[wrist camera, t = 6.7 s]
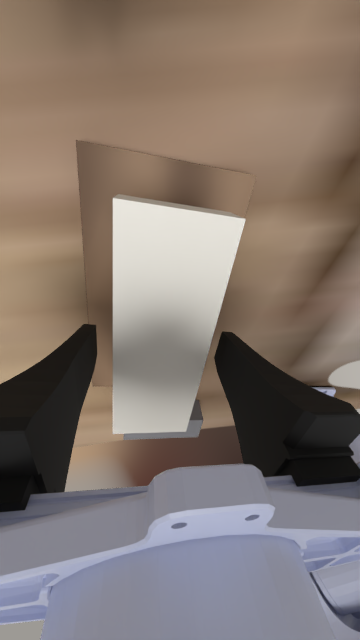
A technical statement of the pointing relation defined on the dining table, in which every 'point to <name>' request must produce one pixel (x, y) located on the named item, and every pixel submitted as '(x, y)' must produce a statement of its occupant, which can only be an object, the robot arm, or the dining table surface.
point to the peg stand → (144, 182)
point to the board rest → (191, 431)
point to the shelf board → (165, 306)
